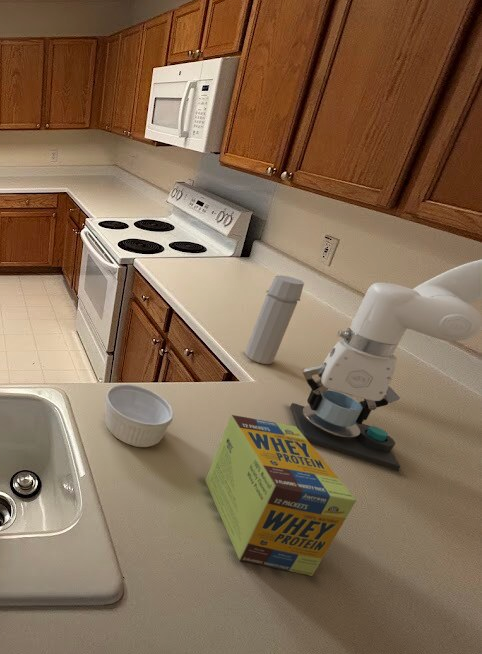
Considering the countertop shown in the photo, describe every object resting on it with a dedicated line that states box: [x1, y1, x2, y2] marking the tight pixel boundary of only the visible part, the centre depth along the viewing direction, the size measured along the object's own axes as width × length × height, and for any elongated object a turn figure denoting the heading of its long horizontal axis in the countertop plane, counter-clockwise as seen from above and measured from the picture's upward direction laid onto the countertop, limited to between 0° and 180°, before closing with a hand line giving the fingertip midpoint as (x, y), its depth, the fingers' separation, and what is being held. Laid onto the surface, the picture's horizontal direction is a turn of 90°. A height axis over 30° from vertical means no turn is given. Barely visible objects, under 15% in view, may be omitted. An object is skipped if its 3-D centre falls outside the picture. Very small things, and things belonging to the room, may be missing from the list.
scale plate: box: [303, 404, 360, 438], centre depth 90 cm, size 10×10×1 cm
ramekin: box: [104, 383, 174, 448], centre depth 86 cm, size 13×13×7 cm
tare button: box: [367, 425, 389, 442], centre depth 87 cm, size 3×3×2 cm
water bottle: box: [244, 274, 305, 365], centre depth 116 cm, size 9×8×25 cm
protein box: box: [204, 414, 357, 577], centre depth 65 cm, size 10×15×16 cm
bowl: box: [315, 389, 363, 427], centre depth 89 cm, size 7×7×5 cm
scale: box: [289, 402, 401, 472], centre depth 90 cm, size 16×13×3 cm
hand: (334, 413), depth 89 cm, fingers closed on bowl, 7 cm apart
